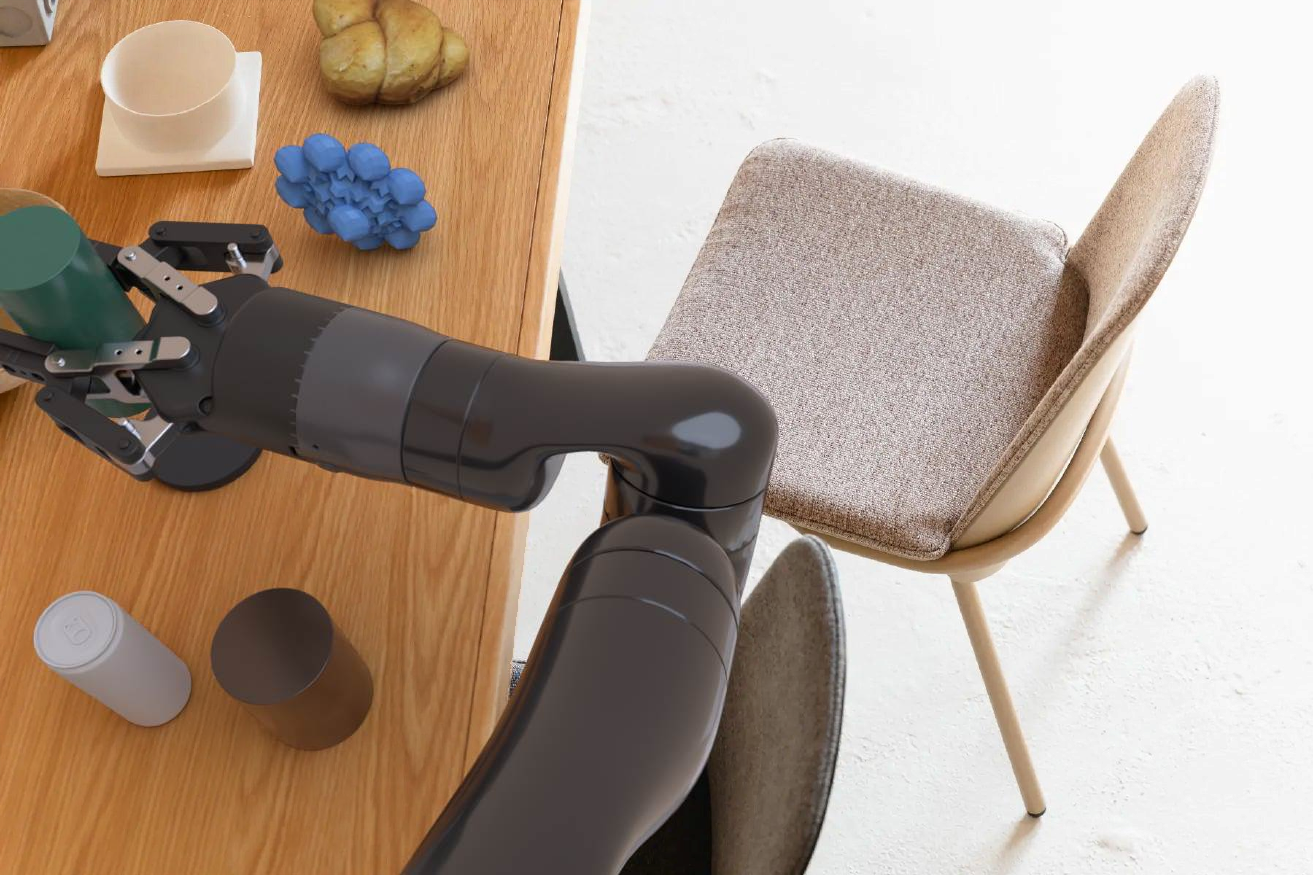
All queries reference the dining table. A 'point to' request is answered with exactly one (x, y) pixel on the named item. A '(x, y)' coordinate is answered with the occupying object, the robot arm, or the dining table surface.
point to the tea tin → (63, 289)
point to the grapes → (353, 193)
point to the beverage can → (112, 658)
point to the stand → (292, 668)
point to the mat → (203, 460)
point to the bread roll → (385, 50)
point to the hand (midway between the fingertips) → (28, 299)
